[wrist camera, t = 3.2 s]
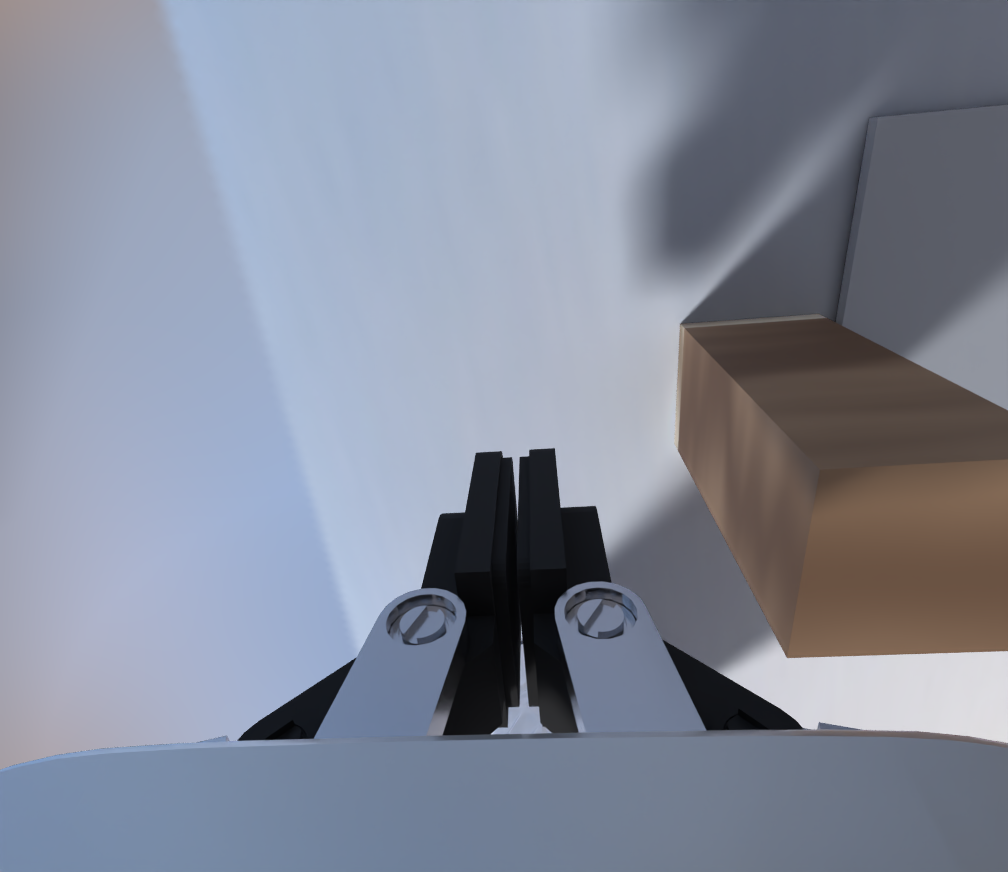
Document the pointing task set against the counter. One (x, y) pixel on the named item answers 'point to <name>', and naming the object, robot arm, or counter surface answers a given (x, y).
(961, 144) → the mat
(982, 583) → the block
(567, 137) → the counter surface
